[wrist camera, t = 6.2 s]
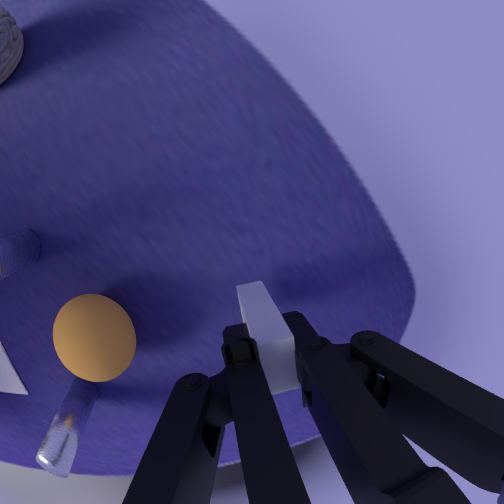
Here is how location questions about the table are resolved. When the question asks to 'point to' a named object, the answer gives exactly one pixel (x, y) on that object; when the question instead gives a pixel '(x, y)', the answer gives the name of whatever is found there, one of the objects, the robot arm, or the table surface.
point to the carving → (9, 44)
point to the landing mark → (9, 375)
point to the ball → (94, 337)
